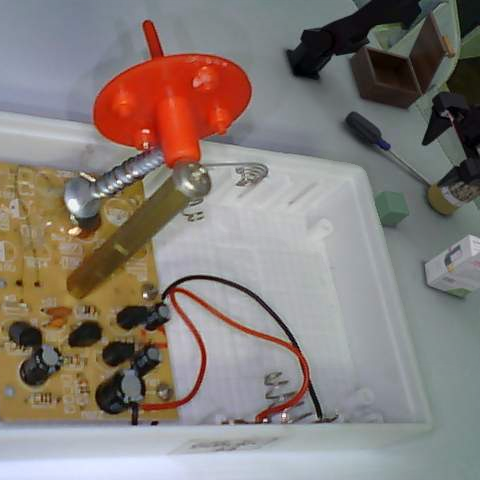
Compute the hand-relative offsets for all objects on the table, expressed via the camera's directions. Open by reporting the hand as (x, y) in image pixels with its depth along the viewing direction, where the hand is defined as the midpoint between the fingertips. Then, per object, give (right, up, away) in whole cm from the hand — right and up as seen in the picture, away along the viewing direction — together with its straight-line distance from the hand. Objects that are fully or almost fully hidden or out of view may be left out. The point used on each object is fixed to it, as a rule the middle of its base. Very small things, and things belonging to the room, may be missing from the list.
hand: (431, 165), depth 144 cm
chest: (-2, +20, +26) cm, 33 cm away
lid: (+5, +25, +19) cm, 32 cm away
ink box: (+4, -21, +4) cm, 22 cm away
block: (-8, -9, +6) cm, 13 cm away
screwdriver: (-3, +3, +15) cm, 16 cm away
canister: (+7, -6, +15) cm, 18 cm away
